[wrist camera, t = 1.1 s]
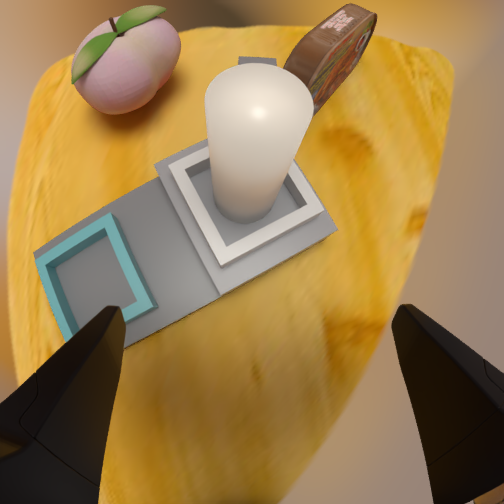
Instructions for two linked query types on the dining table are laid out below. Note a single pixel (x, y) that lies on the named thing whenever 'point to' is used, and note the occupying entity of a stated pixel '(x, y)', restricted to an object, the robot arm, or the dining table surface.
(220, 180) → the white rounded cylinder
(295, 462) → the dining table surface
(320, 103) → the tin
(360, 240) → the dining table surface
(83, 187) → the dining table surface
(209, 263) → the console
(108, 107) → the decorative fruit
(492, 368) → the robot arm
